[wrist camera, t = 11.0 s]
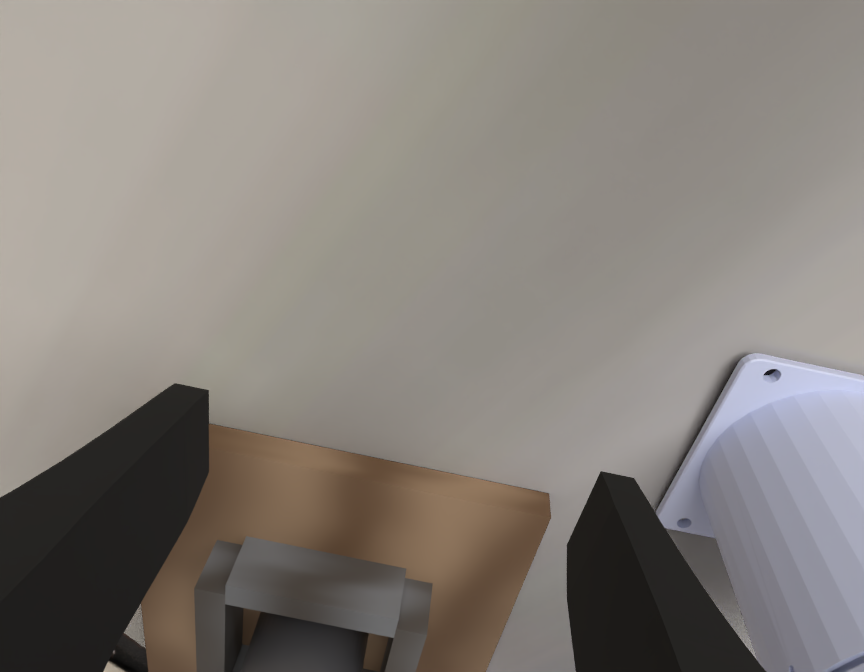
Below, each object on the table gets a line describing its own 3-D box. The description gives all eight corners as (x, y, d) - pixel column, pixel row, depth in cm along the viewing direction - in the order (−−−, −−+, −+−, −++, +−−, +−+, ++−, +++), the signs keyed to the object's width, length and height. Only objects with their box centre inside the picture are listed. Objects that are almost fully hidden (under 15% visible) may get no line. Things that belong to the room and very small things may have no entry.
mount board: (549, 493, 25) (554, 570, 22) (454, 724, 34) (450, 798, 31) (138, 409, 24) (87, 475, 21) (160, 665, 34) (128, 735, 31)
